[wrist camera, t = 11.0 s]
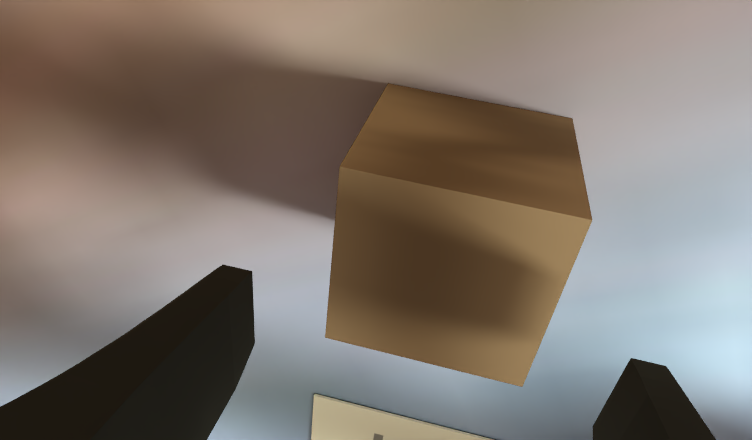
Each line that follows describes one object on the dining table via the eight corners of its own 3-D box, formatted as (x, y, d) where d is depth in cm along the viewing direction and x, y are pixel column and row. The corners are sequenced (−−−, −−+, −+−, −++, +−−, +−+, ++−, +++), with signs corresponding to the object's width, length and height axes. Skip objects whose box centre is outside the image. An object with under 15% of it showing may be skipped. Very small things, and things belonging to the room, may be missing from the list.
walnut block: (572, 117, 14) (592, 220, 10) (521, 261, 17) (522, 386, 13) (388, 82, 15) (339, 166, 11) (369, 227, 18) (325, 337, 14)
